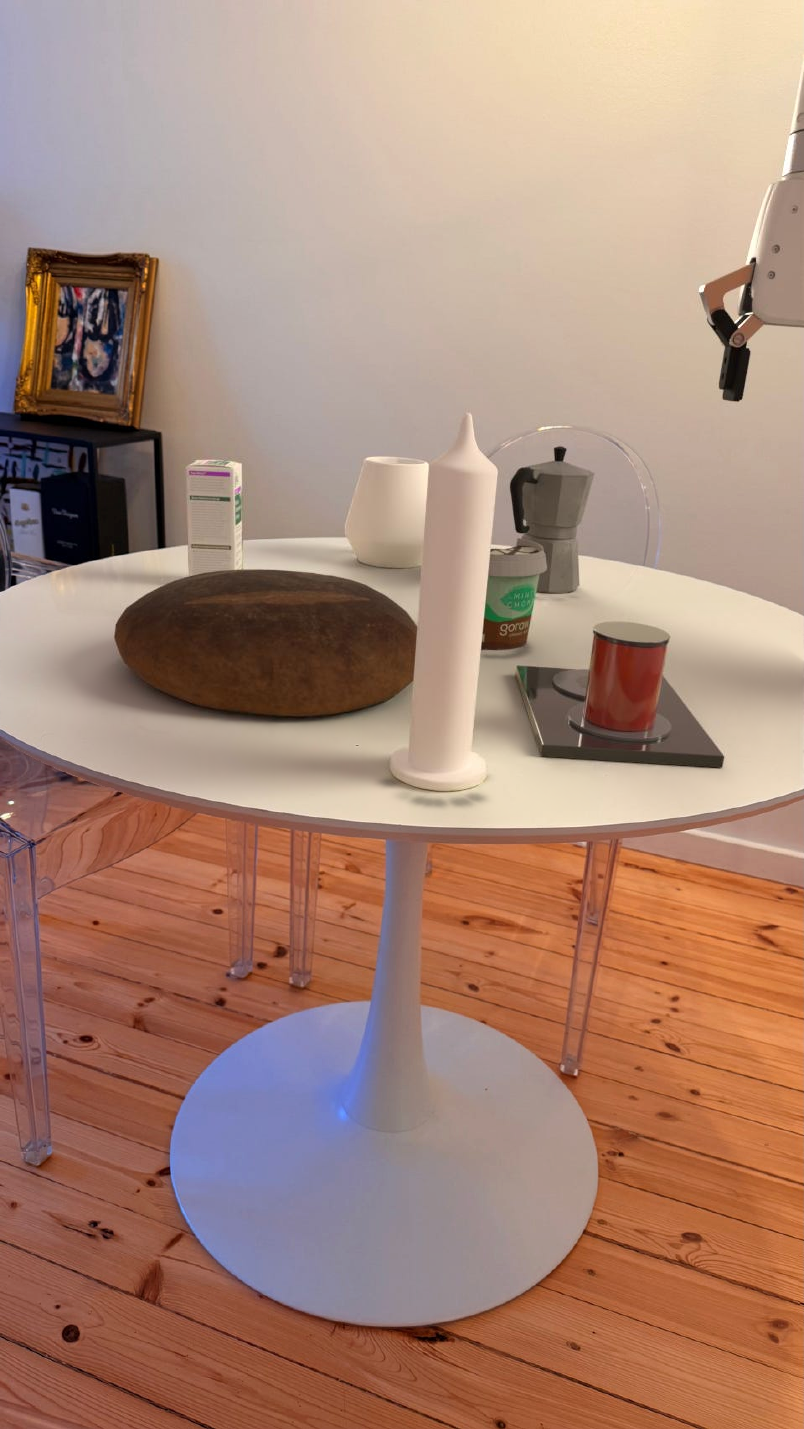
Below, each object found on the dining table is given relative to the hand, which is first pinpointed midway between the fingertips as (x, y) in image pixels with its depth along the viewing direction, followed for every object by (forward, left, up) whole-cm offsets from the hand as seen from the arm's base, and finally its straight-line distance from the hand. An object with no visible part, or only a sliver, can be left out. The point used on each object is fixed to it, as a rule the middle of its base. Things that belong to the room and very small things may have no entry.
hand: (790, 404), depth 80 cm
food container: (+19, -17, -26) cm, 37 cm away
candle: (+27, +18, -26) cm, 42 cm away
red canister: (+12, +8, -25) cm, 29 cm away
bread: (+42, -3, -26) cm, 50 cm away
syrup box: (+53, -35, -26) cm, 69 cm away
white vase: (+32, -55, -26) cm, 69 cm away
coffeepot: (+12, -45, -26) cm, 54 cm away
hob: (+12, +4, -26) cm, 29 cm away
